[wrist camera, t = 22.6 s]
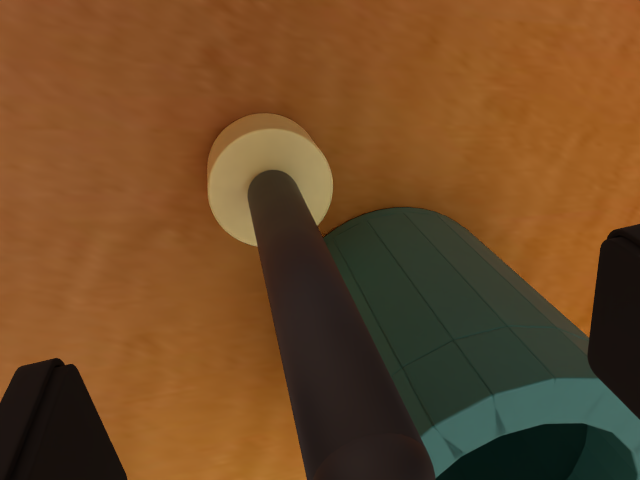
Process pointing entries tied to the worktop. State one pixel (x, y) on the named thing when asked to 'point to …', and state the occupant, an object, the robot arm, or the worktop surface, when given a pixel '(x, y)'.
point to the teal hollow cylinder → (481, 355)
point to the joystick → (312, 304)
